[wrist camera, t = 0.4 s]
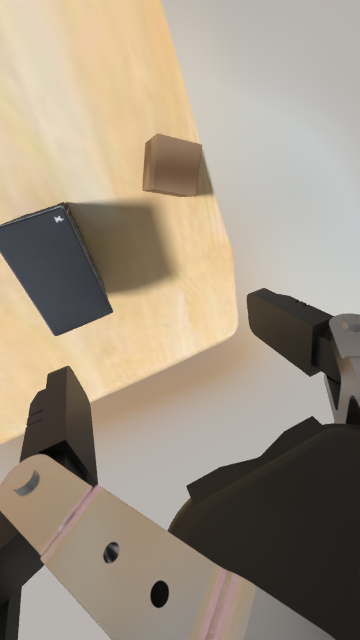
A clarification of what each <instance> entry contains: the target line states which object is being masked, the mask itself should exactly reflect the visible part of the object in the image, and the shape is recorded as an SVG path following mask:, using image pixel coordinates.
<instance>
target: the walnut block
mask: <svg viewBox="0 0 360 640" xmlns="http://www.w3.org/2000/svg"><path fill="white" fill-rule="evenodd" d="M201 149H202V145H200V144H196V143H193V142H189V141H185V140H181V139H177V138H173V137H169V136H165V135H161V134H156V135H155V136H154V137H153V138H151V139H150V140H149V141H147V142H146V143H145V158H144V174H143V191H147V192H153V193H159V194H165V195H172V196H178V197H187V196H195V195H196V188H197V180H198V172H199V165H200V157H201Z"/></svg>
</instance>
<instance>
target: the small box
mask: <svg viewBox="0 0 360 640" xmlns="http://www.w3.org/2000/svg"><path fill="white" fill-rule="evenodd" d="M0 253H1V254H2V256H3V257H4V259H5V260H6V262H7V263H8V265H9V266H10V268H11V270H12V271H13V273H14V274H15V276H16V277H17V279H18V280H19V282H20V283H21V285H22V286H23V288H24V289H25V291H26V293H27V294H28V296H29V297H30V299H31V300H32V302H33V303H34V305H35V306H36V308H37V310H38V311H39V313H40V314H41V316H42V317H43V319H44V320H45V322H46V324H47V325H48V327H49V328H50V330H51V331H52V333H53V335H54V336H58V335H61V334H64V333H66V332H68V331H71V330H73V329H76V328H78V327H80V326H83V325H85V324H87V323H90V322H92V321H95V320H97V319H99V318H102V317H104V316H106V315H109V314H111V313H113V310H112V308H111V305H110V303H109V301H108V298H107V295H106V292H105V288H104V284H103V281H102V279H101V277H100V275H99V272H98V270H97V268H96V266H95V264H94V262H93V259H92V257H91V255H90V253H89V251H88V248H87V246H86V244H85V242H84V239H83V237H82V235H81V233H80V231H79V228H78V226H77V224H76V222H75V220H74V218H73V216H72V214H71V212H70V210H69V208H68V205H67V204H66V203H64V202H62V203H60V204H57V205H56V206H52V207H48V208H46V209H43V210H40V211H37V212H34V213H31V214H27V215H24V216H21V217H19V218H17V219H14V220H11V221H9V222H6V223H4V224H1V225H0Z"/></svg>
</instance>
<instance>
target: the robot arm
mask: <svg viewBox="0 0 360 640" xmlns="http://www.w3.org/2000/svg"><path fill="white" fill-rule="evenodd" d="M247 308H248V318H249V325H250V328H251V330H252V332H253V333H254V335H255V336H257V337H258V338H259V339H261V340H262V341H263V342H265V343H266V344H267V345H269V346H270V347H271V348H273V349H274V350H275V351H277V352H278V353H279V354H281V355H282V356H283V357H285V358H286V359H287V360H289V361H290V362H291V363H293V364H294V365H295V366H297V367H298V368H299V369H301V370H302V371H303V372H305V373H306V374H307V375H308V376H310V377H311V376H313V375H315V374H317V373H318V372H320V371H322V372H323V373H325V375H324V381H325V385H326V389H327V393H328V397H329V401H330V405H331V409H332V412H333V416H334V422H335V423H333V424H324V425H322V424H320V423H319V422H318V421H317V420H316V419H315V418H314V417H313V416H311V417H310V418H308V419H306V420H304V421H302V422H301V423H299V424H297V425H295V426H293V427H292V428H290V429H288V430H286V431H284V432H283V433H282V434H281V435H280V436H279V438H278V439H277V440H276V441H275V442H274V443H273V444H272V445H271V446H270V447H269V448H268V449H267V450H266V451H265V452H264V453H263V454H262V455H261V456H260V457H258V458H255V459H251V460H247V461H244V462H239V463H235V464H231V465H228V466H223V467H220V468H218V469H216V470H214V471H212V472H211V473H209V474H207V475H205V476H203V477H202V478H200V479H198V480H196V481H194V482H193V483H191V484H189V485H187V486H186V487H187V489H188V491H189V494H190V497H191V498H190V499H189V500H188V501H187V502H186V503H185V504H184V505H183V506H182V508H181V509H180V510H179V512H178V513H177V514H176V516H175V518H174V519H173V521H172V523H171V525H170V527H169V529H168V531H166V530H165V529H163V528H162V527H160V526H159V525H157V524H156V523H154V522H153V521H151V520H150V519H148V518H147V517H146V516H144V515H143V514H141V513H140V512H138V511H137V510H135V509H134V508H132V507H131V506H129V505H128V504H126V503H124V502H123V501H122V500H120V499H119V498H117V497H116V496H115V495H113V494H111V493H110V492H109V491H107V490H106V489H104V488H103V487H101V486H99V485H98V478H97V468H96V459H95V448H94V438H93V428H92V417H91V407H90V403H89V400H88V397H87V395H86V393H85V391H84V390H83V388H82V386H81V384H80V383H79V381H78V379H77V377H76V376H75V374H74V372H73V370H72V369H71V368H70V367H69V366H66V367H63V368H61V369H58V370H56V371H53V372H51V373H49V374H48V376H47V384H46V389H44V390H41V391H39V392H38V393H37V395H36V396H35V398H34V399H33V401H32V402H31V404H30V409H29V417H28V420H27V427H26V431H25V436H24V442H23V446H22V452H21V457H20V462H19V464H18V465H17V466H15V467H14V468H13V469H12V470H11V471H10V472H9V473H8V475H7V476H6V477H5V478H4V480H3V481H2V483H1V485H0V640H18V628H19V615H20V602H21V589H22V586H23V585H24V584H25V583H26V582H27V581H28V580H29V579H30V578H31V577H32V576H33V575H34V574H35V573H36V572H37V571H39V570H40V569H41V568H42V567H43V565H46V567H47V568H48V569H49V570H50V571H51V572H52V573H53V575H54V576H55V577H56V578H57V579H58V580H59V581H60V582H61V584H62V585H63V586H64V587H65V588H66V589H67V590H68V591H69V593H70V594H71V595H72V596H73V597H74V598H75V599H76V600H77V601H78V603H79V604H80V605H81V606H82V607H83V608H84V609H85V610H86V612H87V613H88V614H89V615H90V616H91V617H92V618H93V619H94V621H95V622H96V623H97V624H98V625H99V626H100V627H101V628H102V630H104V632H105V633H106V634H107V635H108V636H109V637H110V638H111V640H360V315H359V314H340V315H337V316H332V315H330V314H328V313H325V312H323V311H321V310H319V309H317V308H314V307H312V306H310V305H307V304H306V303H303V302H301V301H300V302H299V300H297V299H295V298H293V297H290V296H287V295H281V294H276V293H274V292H272V291H270V290H268V289H265V288H262V289H260V290H257V291H255V292H252V293H250V294H248V295H247Z"/></svg>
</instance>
